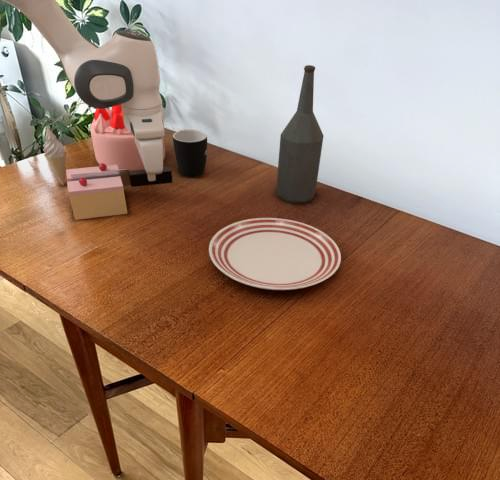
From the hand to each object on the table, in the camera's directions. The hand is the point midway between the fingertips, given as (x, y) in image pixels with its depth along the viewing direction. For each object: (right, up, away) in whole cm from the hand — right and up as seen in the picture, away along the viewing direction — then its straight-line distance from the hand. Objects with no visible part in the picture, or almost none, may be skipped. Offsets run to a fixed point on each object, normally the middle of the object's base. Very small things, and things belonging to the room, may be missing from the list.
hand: (150, 176), depth 113 cm
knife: (-6, -2, 0) cm, 7 cm away
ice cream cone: (-24, 0, +8) cm, 25 cm away
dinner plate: (+29, -23, -14) cm, 40 cm away
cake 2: (-10, +12, +21) cm, 27 cm away
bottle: (+36, -2, +8) cm, 37 cm away
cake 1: (-13, -7, +1) cm, 14 cm away
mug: (+8, +7, +17) cm, 20 cm away
